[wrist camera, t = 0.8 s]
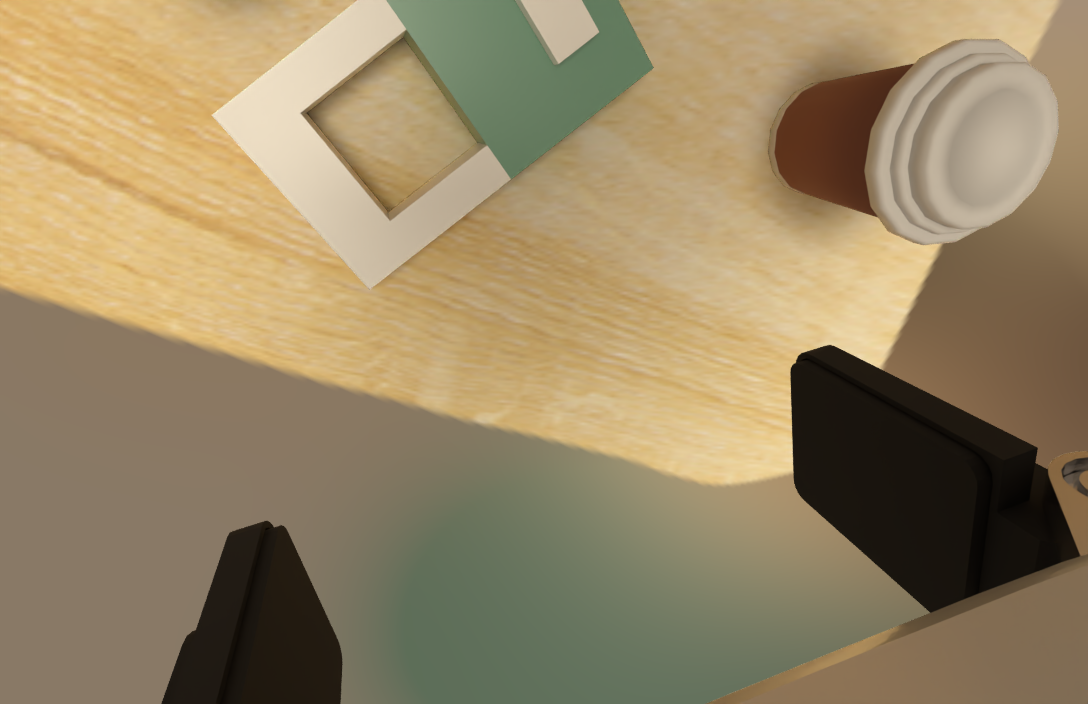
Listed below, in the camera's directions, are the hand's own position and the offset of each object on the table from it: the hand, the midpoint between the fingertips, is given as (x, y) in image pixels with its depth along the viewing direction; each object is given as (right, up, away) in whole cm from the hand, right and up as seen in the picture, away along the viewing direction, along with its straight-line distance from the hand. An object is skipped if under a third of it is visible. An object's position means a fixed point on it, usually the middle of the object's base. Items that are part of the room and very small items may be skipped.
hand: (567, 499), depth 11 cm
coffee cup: (+16, +16, +27) cm, 35 cm away
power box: (-6, +16, +20) cm, 26 cm away
